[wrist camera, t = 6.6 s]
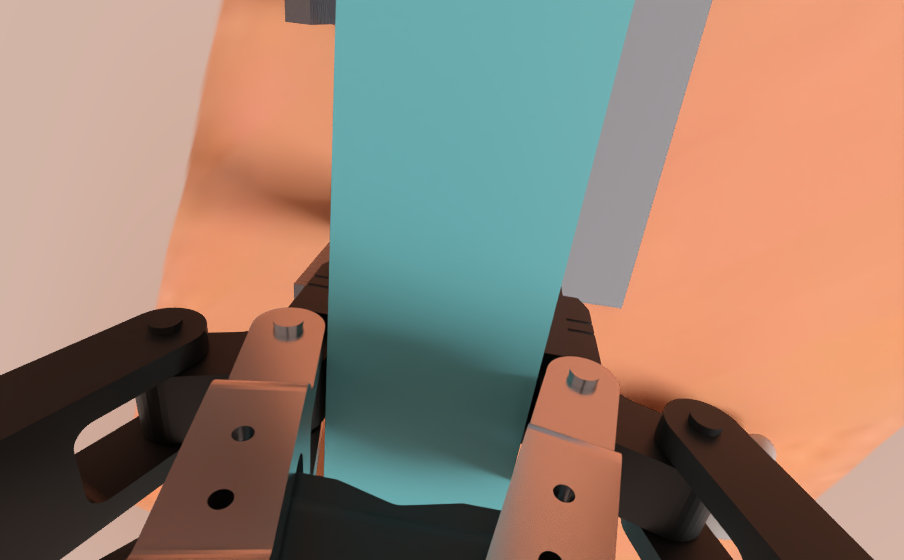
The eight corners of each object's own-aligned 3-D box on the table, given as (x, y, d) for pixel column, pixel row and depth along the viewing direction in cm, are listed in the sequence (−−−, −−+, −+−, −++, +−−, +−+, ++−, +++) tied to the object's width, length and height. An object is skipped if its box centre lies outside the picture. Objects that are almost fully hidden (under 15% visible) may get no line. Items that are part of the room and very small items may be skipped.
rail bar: (417, -283, 8) (347, -480, 5) (655, -253, 8) (747, -435, 5) (355, 567, 17) (318, 691, 14) (462, 588, 17) (449, 719, 14)
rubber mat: (558, -96, 28) (559, -99, 27) (730, -78, 28) (735, -80, 27) (495, 284, 39) (495, 289, 38) (619, 303, 38) (621, 308, 37)
